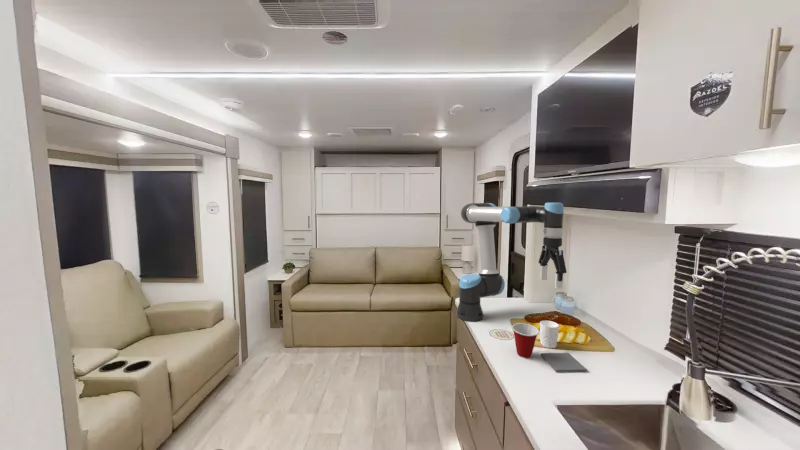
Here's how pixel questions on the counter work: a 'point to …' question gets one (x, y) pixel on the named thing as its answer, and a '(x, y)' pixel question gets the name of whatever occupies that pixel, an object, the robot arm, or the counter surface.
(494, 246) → the robot arm
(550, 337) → the white cup
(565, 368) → the charcoal mat
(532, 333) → the plastic cup
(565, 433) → the counter surface
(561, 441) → the counter surface
